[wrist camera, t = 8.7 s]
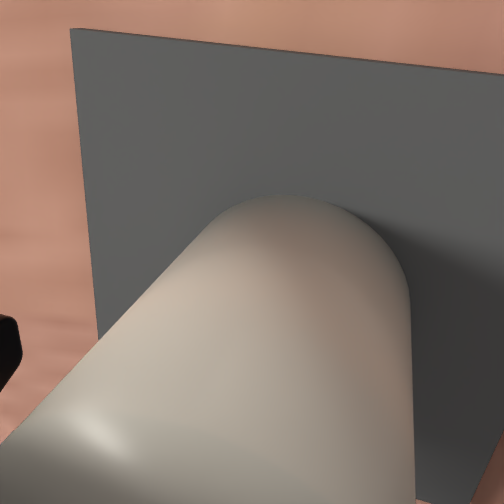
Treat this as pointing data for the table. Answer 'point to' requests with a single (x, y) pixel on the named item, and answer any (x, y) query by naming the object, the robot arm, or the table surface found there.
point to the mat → (313, 195)
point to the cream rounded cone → (240, 376)
